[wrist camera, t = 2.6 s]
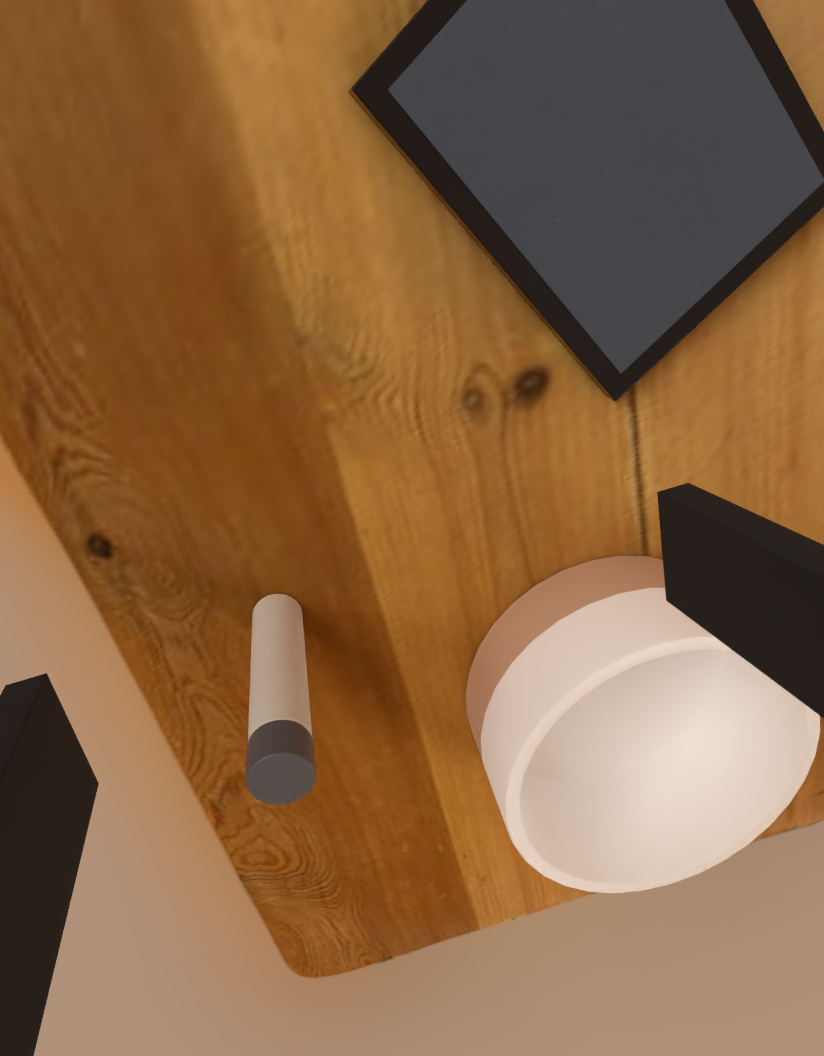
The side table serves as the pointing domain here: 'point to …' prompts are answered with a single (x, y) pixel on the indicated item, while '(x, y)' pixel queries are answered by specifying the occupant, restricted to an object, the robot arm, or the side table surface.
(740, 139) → the tablet
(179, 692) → the side table surface
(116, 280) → the side table surface
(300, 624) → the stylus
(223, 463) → the side table surface
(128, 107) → the side table surface
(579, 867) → the bowl
